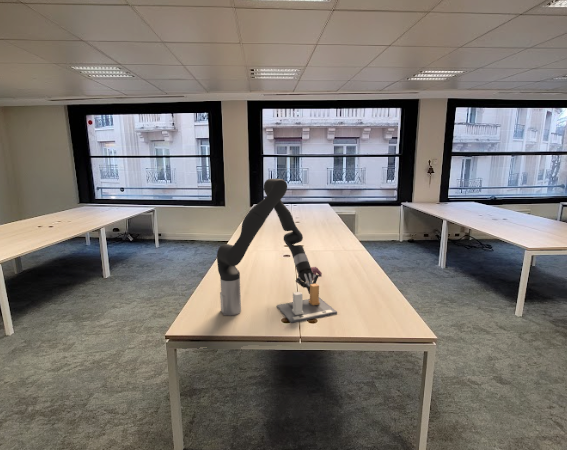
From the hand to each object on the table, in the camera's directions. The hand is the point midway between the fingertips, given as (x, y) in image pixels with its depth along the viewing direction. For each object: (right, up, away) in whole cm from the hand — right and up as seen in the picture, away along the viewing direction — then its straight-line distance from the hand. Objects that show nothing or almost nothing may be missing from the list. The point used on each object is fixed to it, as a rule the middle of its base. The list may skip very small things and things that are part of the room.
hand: (312, 294), depth 166 cm
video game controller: (+5, +2, +39) cm, 40 cm away
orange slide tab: (+1, -4, -1) cm, 4 cm away
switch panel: (-4, -7, -6) cm, 10 cm away
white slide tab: (-8, -6, -11) cm, 15 cm away
